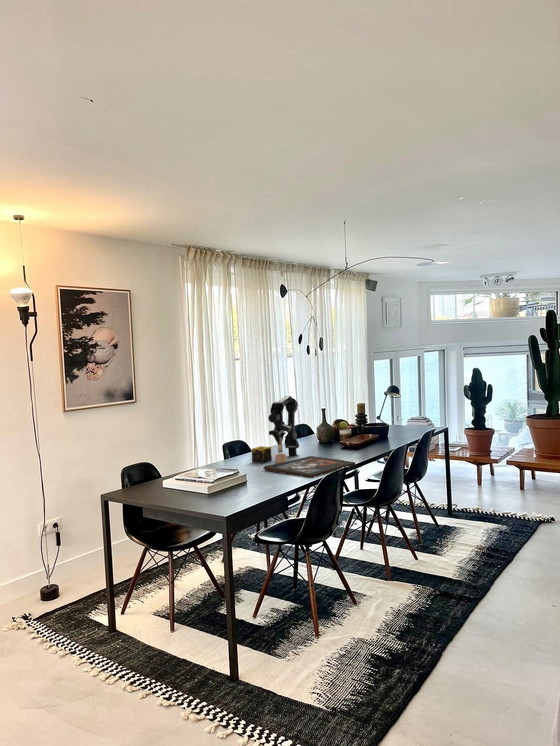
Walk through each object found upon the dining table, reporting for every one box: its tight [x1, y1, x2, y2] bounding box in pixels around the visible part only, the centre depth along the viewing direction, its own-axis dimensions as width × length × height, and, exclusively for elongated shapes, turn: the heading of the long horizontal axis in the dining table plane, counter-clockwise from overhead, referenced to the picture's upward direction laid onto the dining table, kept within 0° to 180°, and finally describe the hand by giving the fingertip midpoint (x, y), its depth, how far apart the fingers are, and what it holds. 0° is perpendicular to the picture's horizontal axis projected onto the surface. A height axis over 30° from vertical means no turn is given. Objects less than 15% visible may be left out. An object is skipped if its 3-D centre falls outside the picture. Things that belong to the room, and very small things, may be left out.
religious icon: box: [263, 455, 356, 478], centre depth 350 cm, size 40×45×3 cm
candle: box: [251, 445, 273, 464], centre depth 378 cm, size 10×10×10 cm
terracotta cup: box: [274, 453, 287, 464], centre depth 372 cm, size 7×7×6 cm
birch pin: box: [277, 437, 283, 454], centre depth 372 cm, size 3×3×10 cm
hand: (279, 443), depth 372 cm, fingers closed on birch pin, 3 cm apart
